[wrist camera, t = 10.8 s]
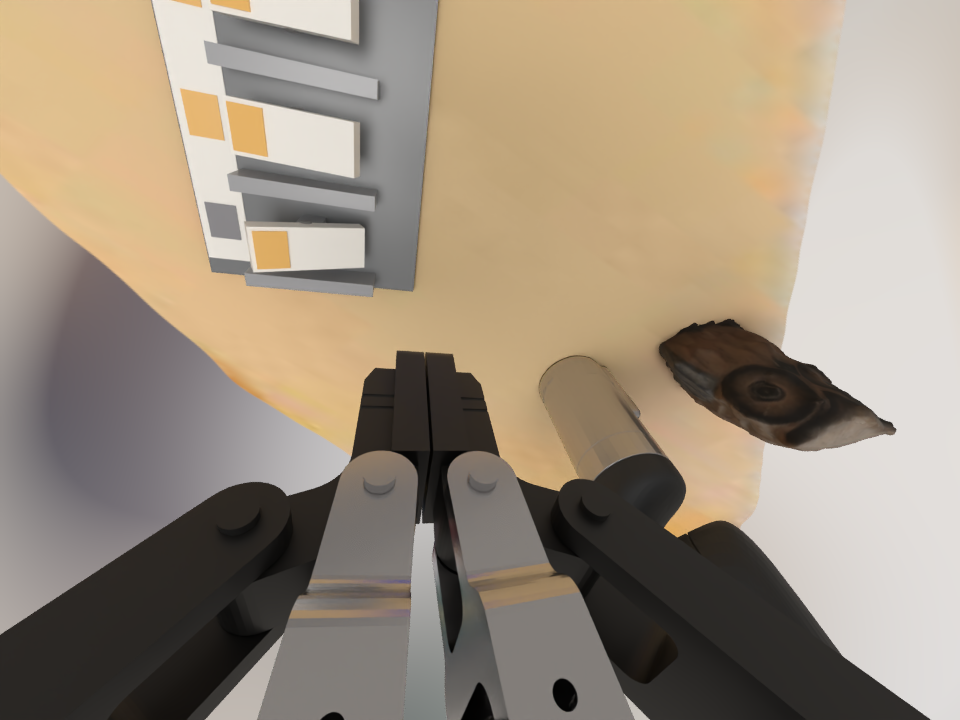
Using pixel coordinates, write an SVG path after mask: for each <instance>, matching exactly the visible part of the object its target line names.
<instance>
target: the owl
mask: <svg viewBox="0 0 960 720" xmlns="http://www.w3.org/2000/svg"><path fill="white" fill-rule="evenodd" d="M659 352H660V354H661V356H662V357H663V358H664V359H665V360H666V361H667V362H666V365H667V366H668V367H669V368H670V369H671V371H672V372H673V374H674V379H675V380H676V381H677V382H678V383H679V384H680V385H681V387H682V388H683V389H684V390H685V391H686V392H687V393H688V394H689V395H690V396H691V397H692V398H693V399H694V400H695V402H696V403H698V404H700V405H702V406H704V407H706V408H707V409H708V410H709V411H711V412H712V413H714V414H715V415H716V416H718V417H720V418H722V419H724V420H726V421H728V422H730V423H733V424H735V425H736V426H738V427H740V428H742V429H744V430H746V431H748V432H749V434H750V435H753V436H755V437H757V438H759V439H761V440H763V441H765V442H767V443H770V444H773V445H778V446H782V447H787V448H792V449H796V450H800V451H818V450H821V449H825V448H826V449H827V448H838V447H842V446H845V445H849V444H852V443H856V442H858V441H861V440H864V439H868V438H872V437H876V436H879V435H883V434H887V435H893V434H895V432H896V428H894V427H893V424H892V423H891V422H888V421H885V420H883V419H881V418H879V417H877V415H876V414H875V413H874V412H873V411H872V410H871V409H869V408H868V407H866V406H865V405H864V404H862V403H861V402H860V401H858V400H857V399H855V398H853V397H852V396H851V395H849V394H848V393H847V392H845V391H842V390H841V389H839V388H838V387H836V386H834V385H833V384H832V382H831V381H830V379H828V378H827V377H826V376H825V374H824V373H823V372H822V371H820V370H819V369H818V368H817V367H816V366H814V365H811V364H805V363H801V362H799V361H796V360H793V359H791V358H789V357H788V356H786V355H785V354H784V353H783V352H782V351H781V350H780V349H779V348H778V347H777V346H775V345H774V344H773V343H771V342H769V341H768V340H767V339H765V338H763V337H761V336H759V335H757V334H755V333H752V332H748V331H746V330H744V329H743V328H741V327H740V325H739V324H737V323H736V322H734V320H731V319H727V320H725V321H723V322H720V323H717V324H715V322H714V321H710V322H708V323H706V324H702V325H699V326H698V324H697V323H693V324H692V325H690V326H689V327H686V328H683V329H682V330H680V331H679V332H678V333H677V334H676V335H675V336H673V337H672V338H670V339H669V340H667V341H665V342H663V343H661V344H660V346H659Z"/></svg>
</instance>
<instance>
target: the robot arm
mask: <svg viewBox="0 0 960 720" xmlns="http://www.w3.org/2000/svg"><path fill="white" fill-rule="evenodd" d="M539 393H540V396H541V398H542V400H543V403H544V405H545V407H546V409H547V411H548V413H549V415H550V418H551V420H552V422H553V424H554V426H555V428H556V430H557V432H558V434H559V437H560V439H561V441H562V443H563V445H564V447H565V449H566V451H567V454H568V456H569V458H570V460H571V462H572V464H573V466H574V468H575V470H576V473H577V475H578V477H579V479H575V480H571V481H569V482H567V483H566V484H564V485H563V487H562V488H561V490H560V492H559V491H555V490H551V489H548V488H544V487H540V486H537V485H533V484H530V483H527V482H525V481H523V480H521V479H520V478H518V477H516V475H515V473H514V471H513V469H512V468H511V466H510V465H509V464H508V463H507V462H506V461H504V460H503V459H502V458H500V455H499V452H498V448H497V444H496V440H495V437H494V433H493V429H492V425H491V421H490V418H489V414H488V412H487V406H486V402H485V401H484V395H483V391H482V387H481V384H480V383H479V382H478V381H477V380H476V379H475V378H474V376H473V375H472V374H471V373H461V372H456V369H455V363H454V358H453V354H443V353H428V352H426V354H425V359H424V352H411V351H397V355H396V369H383V368H375V369H374V370H373V371H372V372H371V373H370V374H369V375H368V376H367V378H366V379H365V381H364V387H363V393H362V398H361V404H360V410H359V416H358V422H357V428H356V434H355V440H354V446H353V452H352V456H351V460H350V462H349V464H348V465H347V466H346V467H345V469H344V470H343V472H342V473H341V474H340V475H339V476H337V477H336V478H335V479H333V480H332V481H330V482H328V483H326V484H324V485H322V486H320V487H317V488H314V489H311V490H307V491H304V492H300V493H297V494H293V495H289V496H286V494H285V493H284V492H283V491H282V490H281V489H280V488H278V487H276V486H274V485H272V484H269V483H263V482H249V483H243V484H239V485H235V486H232V487H229V488H227V489H224V490H222V491H220V492H218V493H216V494H215V495H213V496H211V497H210V498H208V499H207V500H205V501H204V502H202V503H201V504H199V505H198V506H196V507H195V508H193V509H192V510H190V511H188V512H187V513H185V514H184V515H182V516H181V517H179V518H178V519H176V520H175V521H173V522H172V523H170V524H169V525H167V526H166V527H164V528H162V529H161V530H160V531H158V532H157V533H155V534H153V535H152V536H150V537H149V538H147V539H146V540H144V541H143V542H141V543H140V544H138V545H137V546H135V547H134V548H132V549H130V550H129V551H127V552H126V553H124V554H123V555H121V556H120V557H118V558H117V559H115V560H114V561H112V562H111V563H109V564H108V565H106V566H104V567H103V568H101V569H100V570H99V571H97V572H96V573H94V574H92V575H91V576H89V577H88V578H86V579H85V580H83V581H82V582H80V583H78V584H77V585H75V586H74V587H72V588H71V589H69V590H68V591H66V592H65V593H63V594H62V595H60V596H59V597H57V598H56V599H54V600H53V601H51V602H50V603H48V604H46V605H45V606H43V607H42V608H40V609H39V610H37V611H36V612H34V613H33V614H31V615H30V616H28V617H27V618H25V619H24V620H22V621H21V622H19V623H17V624H16V625H14V626H13V627H12V628H10V629H8V630H7V631H5V632H4V633H2V634H1V635H0V720H205V719H206V718H207V717H208V716H209V715H210V713H211V712H212V711H213V710H214V709H215V708H216V707H217V706H218V705H219V704H220V702H221V701H222V700H223V699H224V698H225V697H226V696H227V695H228V694H229V693H230V692H231V690H232V689H233V688H234V687H235V686H236V685H237V684H238V682H240V680H241V679H242V678H243V677H244V676H245V675H246V674H247V673H248V672H249V671H250V670H251V669H252V667H253V666H254V665H255V664H256V663H257V662H258V661H259V660H260V659H261V658H262V656H263V655H264V654H265V653H266V652H267V651H268V650H269V649H270V648H271V647H272V646H273V644H274V643H275V642H276V641H277V640H278V639H279V638H280V637H281V636H282V635H283V633H284V635H283V638H282V641H281V644H280V648H279V651H278V654H277V657H276V661H275V664H274V667H273V670H272V674H271V677H270V680H269V683H268V686H267V690H266V693H265V696H264V699H263V702H262V706H261V709H260V712H259V715H258V719H257V720H403V718H404V703H405V687H406V673H407V657H408V643H409V627H410V610H411V592H410V589H411V571H412V557H413V543H414V532H415V526H416V524H419V523H420V517H421V510H422V523H434V537H435V541H434V547H433V553H432V562H433V570H434V577H435V585H436V593H437V601H438V609H439V617H440V625H441V632H442V640H443V648H444V658H445V703H446V715H447V720H635V719H634V717H633V715H632V713H631V710H630V708H629V705H628V703H627V700H626V698H625V696H624V694H625V695H626V696H627V697H628V698H629V699H630V700H631V701H632V702H633V703H634V704H635V705H636V706H637V707H638V708H639V709H640V710H641V711H642V712H643V713H644V714H645V715H646V716H647V717H648V718H649V719H650V720H930V719H929V718H927V717H926V716H925V715H923V714H922V713H921V712H919V711H918V710H916V709H915V708H914V707H912V706H911V705H910V704H908V703H907V702H905V701H904V700H903V699H901V698H899V697H898V696H897V695H895V694H894V693H893V692H891V691H890V690H888V689H887V688H886V687H884V686H883V685H882V684H880V683H879V682H877V681H876V680H875V679H873V678H872V677H870V676H869V675H868V674H866V673H865V672H863V671H862V670H861V669H859V668H858V667H857V666H855V665H854V664H852V663H851V662H850V661H848V660H847V659H845V658H844V657H843V656H842V655H841V653H840V652H839V651H838V649H837V648H836V647H835V645H834V644H833V643H832V641H831V640H830V639H829V637H828V636H827V635H826V633H825V632H824V631H823V629H822V628H821V627H820V625H819V624H818V622H817V621H816V620H815V618H814V617H813V616H812V614H811V613H810V612H809V611H808V609H807V608H806V606H805V605H804V604H803V602H802V601H801V600H800V598H799V597H798V596H797V594H796V593H795V592H794V591H793V589H792V588H791V587H790V585H789V584H788V583H787V581H786V580H785V579H784V577H783V576H782V575H781V574H780V572H779V571H778V570H777V568H776V567H775V566H774V564H773V563H772V562H771V561H770V560H769V558H768V557H767V556H766V555H765V554H764V553H763V552H762V550H761V549H760V548H759V547H758V546H757V545H756V544H755V543H754V542H753V541H752V540H751V539H750V538H749V537H748V536H747V535H746V534H745V533H744V532H743V531H741V530H740V529H739V528H737V527H736V526H734V525H733V524H731V523H729V522H726V521H714V522H711V523H708V524H706V525H703V526H701V527H699V528H696V529H694V530H692V531H690V532H688V535H687V534H684V535H682V536H680V537H678V538H677V537H676V536H674V535H673V534H671V533H670V532H669V531H667V530H666V529H664V527H665V525H666V524H667V522H668V521H669V520H670V519H671V517H672V516H673V515H674V514H675V513H676V511H677V510H678V509H679V507H680V506H681V504H682V502H683V500H684V498H685V494H686V485H685V482H684V480H683V478H682V476H681V474H680V473H679V471H678V470H677V469H676V468H675V466H674V465H673V464H672V462H671V461H670V460H669V459H668V457H667V456H666V455H665V453H664V452H663V451H662V449H661V448H660V447H659V445H658V444H657V443H656V441H655V440H654V439H653V437H652V436H651V435H650V433H649V432H648V431H647V429H646V428H645V427H644V425H643V424H642V423H641V421H640V420H639V419H638V418H639V416H640V411H639V409H638V408H637V407H636V405H635V404H634V403H633V401H632V400H631V399H630V398H629V396H628V395H627V394H626V392H625V391H624V390H623V388H622V387H621V386H620V385H619V383H618V382H617V381H616V379H615V378H614V377H613V376H612V374H611V373H610V372H609V370H608V369H607V368H606V367H601V366H599V365H598V364H597V363H596V362H595V361H594V360H592V359H590V358H587V357H582V356H575V357H569V358H566V359H563V360H561V361H559V362H557V363H556V364H554V365H553V366H551V367H550V368H549V369H548V370H547V371H546V373H545V374H544V375H543V377H542V379H541V381H540V386H539Z"/></svg>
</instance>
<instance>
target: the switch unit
mask: <svg viewBox="0 0 960 720" xmlns="http://www.w3.org/2000/svg"><path fill="white" fill-rule="evenodd" d="M151 2H152V7H153V11H154V16H155V20H156V25H157V29H158V34H159V38H160V43H161V47H162V52H163V56H164V60H165V65H166V69H167V74H168V78H169V83H170V87H171V92H172V96H173V101H174V105H175V110H176V114H177V119H178V123H179V128H180V132H181V136H182V141H183V145H184V150H185V154H186V159H187V163H188V168H189V172H190V177H191V181H192V186H193V190H194V195H195V199H196V203H197V208H198V212H199V217H200V221H201V226H202V230H203V235H204V239H205V244H206V248H207V253H208V257H209V262H210V266H211V270H212V272H217V273H227V274H238V275H245V280H246V286H256V287H267V288H278V289H289V290H300V291H311V292H322V293H333V294H344V295H355V296H367V297H373V292H374V288H383V289H393V290H404V291H413V288H414V276H415V264H416V253H417V241H418V230H419V218H420V206H421V195H422V183H423V171H424V160H425V148H426V136H427V125H428V113H429V101H430V90H431V78H432V66H433V55H434V43H435V31H436V20H437V8H438V0H359V45H358V44H353V43H349V42H344V41H340V40H335V39H330V38H326V37H321V36H317V35H312V34H307V33H303V32H299V34H295V33H291V32H288V31H285V30H284V28H280V27H275V26H271V25H266V24H261V23H257V22H252V21H248V20H243V19H238V18H234V17H229V16H225V15H222V14H219V13H217V12H214V11H211V10H209V8H208V2H207V0H151ZM222 95H229V96H236V97H241V98H246V99H250V100H255V101H260V102H265V103H270V104H274V105H279V106H284V107H289V108H291V106H292V107H298V108H303V109H304V110H305V111H308V112H313V113H317V114H322V115H327V116H332V117H336V118H341V119H346V120H351V121H356V122H360V176H359V177H356V178H350V177H345V176H340V175H335V174H330V173H325V172H320V171H315V170H310V169H305V168H300V167H295V166H290V165H285V164H280V163H275V162H270V161H265V160H260V159H255V158H250V157H245V156H240V155H235V154H231V148H230V142H229V136H228V130H227V124H226V118H225V112H224V106H223V100H222ZM300 220H309V221H312V223H346V224H360V225H361V226H362V227H364V228H365V257H364V268H344V269H321V270H298V271H275V272H253V270H252V268H251V264H250V258H249V251H248V245H247V239H246V233H245V227H244V221H256V222H300Z"/></svg>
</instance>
